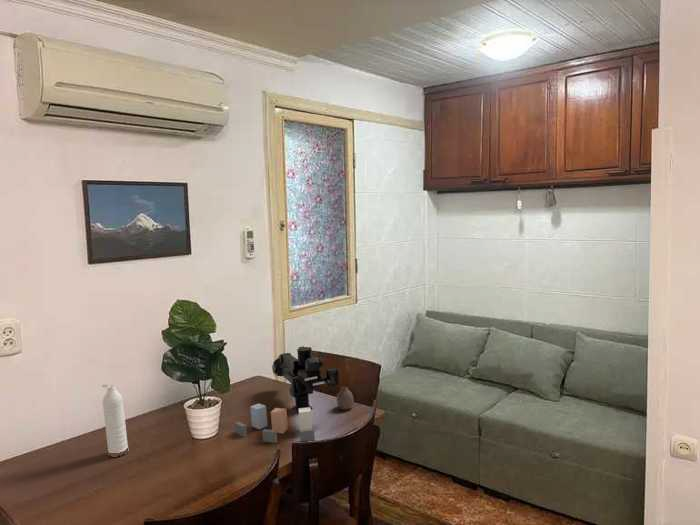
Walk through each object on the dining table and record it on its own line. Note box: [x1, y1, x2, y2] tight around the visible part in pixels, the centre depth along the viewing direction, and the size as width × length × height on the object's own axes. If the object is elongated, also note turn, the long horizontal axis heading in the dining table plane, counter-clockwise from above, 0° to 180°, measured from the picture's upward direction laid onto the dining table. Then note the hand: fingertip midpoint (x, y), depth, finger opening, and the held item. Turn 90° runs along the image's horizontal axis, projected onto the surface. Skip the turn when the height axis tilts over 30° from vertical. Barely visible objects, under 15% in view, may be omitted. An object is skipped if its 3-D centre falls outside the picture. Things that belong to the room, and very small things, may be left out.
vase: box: [336, 386, 354, 411], centre depth 218 cm, size 7×7×9 cm
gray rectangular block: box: [250, 403, 268, 430], centre depth 204 cm, size 4×4×8 cm
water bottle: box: [101, 382, 129, 453], centre depth 188 cm, size 9×6×25 cm
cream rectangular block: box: [298, 407, 313, 431], centre depth 199 cm, size 4×4×8 cm
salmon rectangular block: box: [270, 407, 289, 434], centre depth 199 cm, size 4×4×8 cm
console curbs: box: [234, 421, 316, 444], centre depth 194 cm, size 32×6×4 cm, turn 73°
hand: (323, 388), depth 196 cm, fingers open, 9 cm apart
